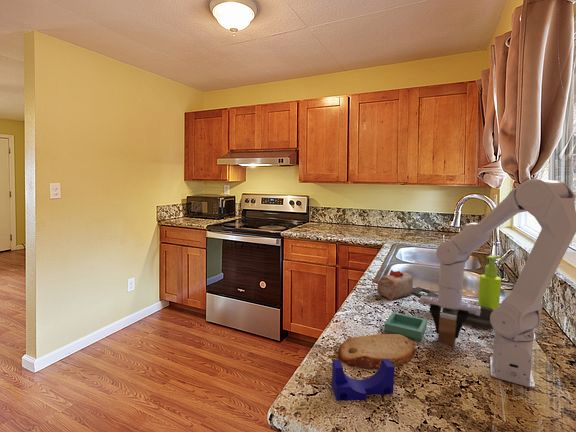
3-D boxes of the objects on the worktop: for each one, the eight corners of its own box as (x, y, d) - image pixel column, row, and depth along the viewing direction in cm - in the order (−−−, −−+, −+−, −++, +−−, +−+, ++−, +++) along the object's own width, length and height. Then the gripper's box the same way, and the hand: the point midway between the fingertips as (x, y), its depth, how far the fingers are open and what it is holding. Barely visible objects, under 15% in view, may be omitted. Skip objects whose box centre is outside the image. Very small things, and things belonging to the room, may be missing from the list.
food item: (392, 302, 117) (393, 275, 116) (374, 295, 124) (376, 270, 123) (414, 295, 125) (416, 270, 124) (397, 290, 132) (398, 266, 131)
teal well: (420, 340, 88) (421, 332, 88) (384, 331, 93) (384, 323, 93) (426, 327, 96) (427, 319, 96) (392, 319, 102) (392, 312, 101)
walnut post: (454, 346, 85) (456, 320, 85) (437, 342, 88) (439, 317, 87) (455, 340, 89) (457, 315, 88) (439, 336, 91) (441, 312, 90)
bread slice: (415, 344, 87) (415, 331, 86) (415, 382, 70) (416, 366, 70) (348, 332, 93) (349, 320, 93) (334, 364, 76) (334, 349, 76)
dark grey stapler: (416, 285, 116) (498, 301, 101) (415, 303, 117) (496, 322, 102) (408, 291, 109) (495, 310, 94) (407, 310, 110) (493, 332, 95)
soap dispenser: (504, 317, 105) (509, 257, 103) (489, 320, 103) (494, 258, 101) (487, 310, 111) (492, 253, 109) (473, 313, 108) (477, 254, 106)
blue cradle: (336, 401, 63) (337, 372, 62) (331, 387, 67) (332, 359, 67) (396, 399, 64) (397, 371, 63) (387, 385, 68) (388, 358, 68)
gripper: (482, 286, 86) (478, 335, 88) (424, 278, 94) (421, 322, 95) (481, 294, 80) (477, 346, 82) (420, 284, 88) (417, 331, 89)
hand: (447, 334), depth 88 cm, fingers closed on walnut post, 4 cm apart
